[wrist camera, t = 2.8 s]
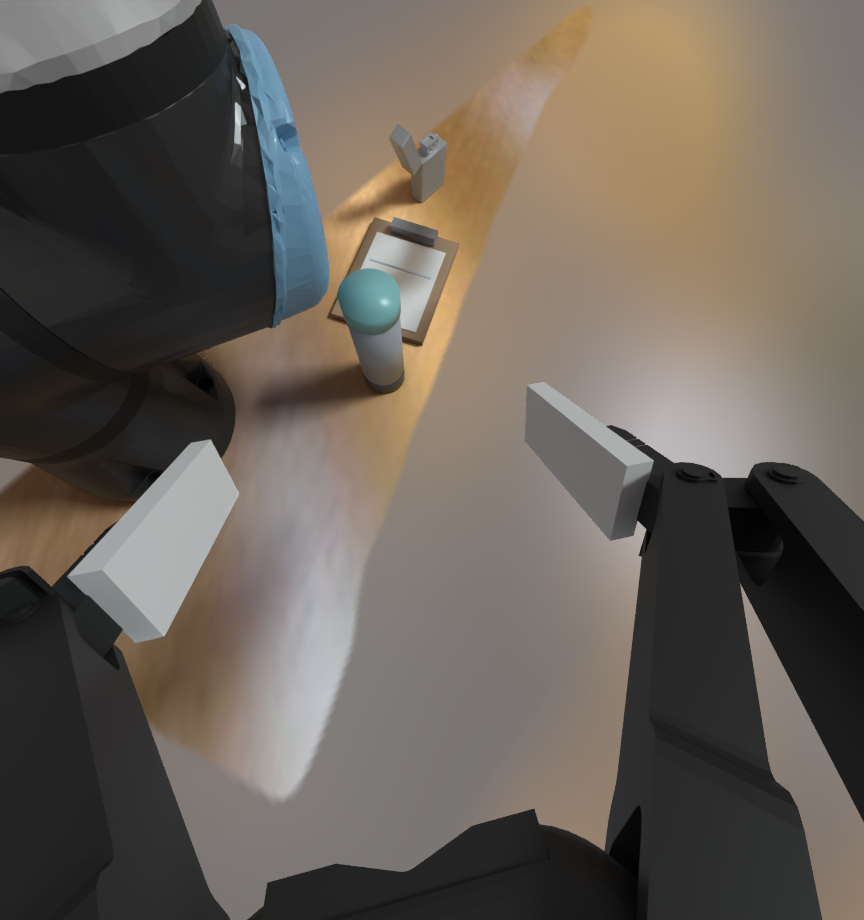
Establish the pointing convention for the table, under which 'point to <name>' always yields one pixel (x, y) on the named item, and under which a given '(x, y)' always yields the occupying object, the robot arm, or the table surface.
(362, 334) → the grey teal cylinder
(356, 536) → the table surface
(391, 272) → the clipboard
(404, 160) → the lighter
